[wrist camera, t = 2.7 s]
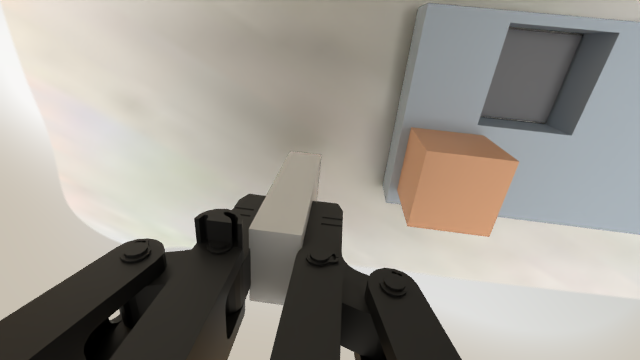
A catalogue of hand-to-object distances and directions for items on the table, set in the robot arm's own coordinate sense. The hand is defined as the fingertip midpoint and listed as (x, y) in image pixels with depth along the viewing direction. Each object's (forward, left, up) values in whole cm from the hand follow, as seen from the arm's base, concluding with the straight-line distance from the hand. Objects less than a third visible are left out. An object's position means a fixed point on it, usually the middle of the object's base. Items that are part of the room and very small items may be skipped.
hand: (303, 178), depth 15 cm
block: (-6, +5, -4) cm, 8 cm away
